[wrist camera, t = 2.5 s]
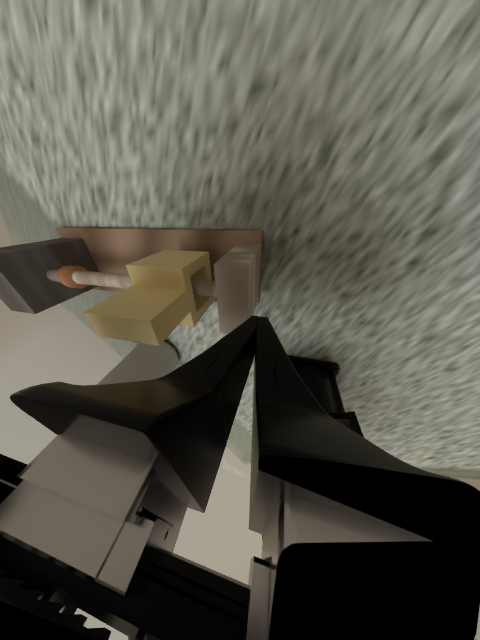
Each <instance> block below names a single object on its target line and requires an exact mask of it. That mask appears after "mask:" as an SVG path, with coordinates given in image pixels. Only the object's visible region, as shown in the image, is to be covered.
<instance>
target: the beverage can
mask: <svg viewBox="0 0 480 640" xmlns="http://www.w3.org/2000/svg"><path fill="white" fill-rule="evenodd" d="M177 363H178V356H177V353H176V351H175V349H174V348H173V347H172V346H171V345H170V344H169V343H167V342H165V341H163V343H162V344H161V345H160V346H157V345H151V344H145V343H140V344H139V345H138V346H137V347H136V348H134V349H133V350H132V351H131V352H130V353H129V354H128V355H127V356H126V357H125V358H124V359H123V360H122V361H121V362H120V363H119V364H118V365H117V366H116V367H115V368H114V369H113V370H112V371H111V372H109V373H108V374H107V375H106V376H105V377H104V378H103V379H102V380H101V381H100V382H99V383H98V384H97V385H104V384H114V383H124V382H134V381H145V380H153V379H157V378H160V377H163V376H165V375H167V374H169V373H170V372H172V371H173V369H174V368H175V366H176V365H177Z"/></svg>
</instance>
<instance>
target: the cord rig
mask: <svg viewBox="0 0 480 640" xmlns="http://www.w3.org/2000/svg"><path fill="white" fill-rule="evenodd" d="M56 229H57V231H58V233H59V235H60V236H61V238H59V239H53V240H46V241H40V242H33V243H27V244H21V245H14V246H8V247H1V248H0V299H1V300H2V301H3V302H4V303H5V304H6V305H7V306H8V307H9V308H10V309H11V310H12V311H19V312H26V313H33V314H36V313H39V312H41V311H43V310H46V309H48V308H50V307H52V306H55V305H57V304H59V303H61V302H64V301H66V300H68V299H71V298H73V297H75V296H77V295H80V294H82V293H84V292H86V291H89V290H91V289H97V290H107V291H117V292H122V291H124V290H126V289H128V288H129V287H131V286H133V283H132V280H131V278H130V275H129V273H128V270H127V268H126V265H127V264H129V263H132V262H135V261H137V260H140V259H142V258H145V257H148V256H150V255H153V254H155V253H158V252H161V251H163V250H180V251H204V252H209V259H210V267H211V276H212V281H208V280H195V279H191V285H192V290H193V295H199V296H210V297H214V301H215V302H217V304H218V314H219V323H220V332H224V333H230V332H231V331H233V330H234V329H235V328H237V327H238V326H239V325H240V324H242V323H243V322H244V321H246V320H247V319H248V318H250V317H251V316H253V313H254V310H255V307H256V306H258V304H259V291H260V274H261V257H262V240H263V230H232V229H166V228H100V227H59V228H56Z"/></svg>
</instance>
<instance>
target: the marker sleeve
mask: <svg viewBox="0 0 480 640" xmlns="http://www.w3.org/2000/svg"><path fill="white" fill-rule="evenodd" d="M126 268H127V270H128V273H129V275H130V278H131V280H132V283H133V286H131V287H129V288H128V289H126V290H124V291H122V292H120V293H118V294H116V295H115V296H113V297H111V298H109V299H107V300H105V301H103V302H101V303H100V304H98V305H96V306H94V307H92V308H90V309H88V310H87V311H85V312H83V313H84V314H85V316H86V317H87V319H88V320H89V322H90V324H91V325H92V327H93V328H94V330H95V331H96V333H97V335H98V336H103V337H109V338H115V339H121V340H127V341H133V342H139V343H145V344H151V345H157V346H160V345H161V344H162V343H163V341H164V340H165V339H166V338H167V337H168V336H169V335H170V334H171V332H172V331H173V330H174V329H175V328H176V327H177V326H178V325H182V326H190V327H194V326H195V325H196V323H197V322H198V321H199V320H200V318H201V317H202V316H203V314H204V313H205V312H206V310H207V309H208V308H209V306H210V305H211V304H212V302H213V301H214V297H210V296H199V295H193V290H192V285H191V279H195V280H208V281H212V276H211V267H210V259H209V252H204V251H180V250H163V251H161V252H158V253H155V254H153V255H150V256H148V257H145V258H142V259H140V260H137V261H135V262H132V263H129V264H127V265H126Z"/></svg>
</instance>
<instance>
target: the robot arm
mask: <svg viewBox="0 0 480 640" xmlns="http://www.w3.org/2000/svg"><path fill="white" fill-rule="evenodd" d="M254 355H255V364H254V394H253V424H252V454H251V484H250V486H251V487H250V513H249V514H250V516H249V529H250V530H252V531H255V532H258V533H260V534H262V539H263V545H262V559H260V558H257V557H255V556H254V557H252V558H251V563H250V573H249V583H248V585H247V584H244V583H242V582H240V581H237V580H235V579H233V578H230V577H228V576H226V575H223V574H221V573H218V572H216V571H214V570H211V569H209V568H207V567H205V566H202V565H200V564H197V563H195V562H193V561H191V560H188V559H186V558H183V557H181V556H178V555H177V554H174V553H173V550H174V547H175V544H176V541H177V537H178V534H179V531H180V527H181V525H182V522H183V519H184V515H185V513H186V510H187V507H189V508H191V509H194V510H197V511H200V512H202V513H204V512H205V509H206V506H207V503H208V500H209V496H210V494H211V490H212V487H213V484H214V481H215V478H216V475H217V471H218V469H219V465H220V462H221V459H222V456H223V453H224V450H225V447H226V444H227V440H228V437H229V434H230V431H231V428H232V425H233V422H234V418H235V415H236V412H237V409H238V406H239V403H240V400H241V396H242V393H243V390H244V387H245V384H246V381H247V378H248V375H249V371H250V368H251V365H252V362H253V359H254ZM334 367H335V368H334ZM339 369H340V368H339V365H338V364H336V363H329V362H323V361H316V360H310V359H303V358H297V357H290V356H287V354H286V352H285V350H284V348H283V346H282V344H281V342H280V340H279V338H278V336H277V335H276V333H275V331H274V329H273V327H272V325H271V323H270V321H269V319H268V318H267V317H259V316H251V317H250V318H248V319H247V320H246V321H244V322H243V323H242V324H240V325H239V326H238V327H237V328H235V329H234V330H233V331H231V332H230V333H229V334H227V335H226V336H225V337H223V338H222V339H221V340H219V341H218V342H217V343H215V344H214V345H213V346H211V347H210V348H209V349H207V350H206V351H204V352H203V353H201V354H200V355H198V356H197V357H195V358H194V359H192V360H190V361H189V362H187V363H185V364H184V365H182V366H180V367H179V368H177V369H175V370H174V371H172V372H170V373H169V374H167V375H165V376H163V377H160V378H157V379H153V380H145V381H134V382H124V383H114V384H104V385H87V386H82V385H72V384H68V383H63V382H53V383H46V384H40V385H36V386H32V387H29V388H26V389H23V390H20V391H18V392H16V393H14V394H12V395H11V396H10V399H11V401H12V402H13V403H14V404H15V405H16V406H18V407H19V408H20V409H21V410H23V411H24V412H26V413H27V414H28V415H30V416H32V417H33V418H34V419H36V420H37V421H38V422H40V423H41V424H43V425H44V426H46V427H47V428H48V429H50V430H51V431H53V432H54V433H55V434H57V436H56V437H55V438H54V439H53V440H52V441H51V442H50V443H49V444H48V445H47V446H46V447H45V448H44V450H42V451H41V452H40V453H39V455H37V456H36V457H35V458H34V460H32V461H31V462H30V463H29V464H28V465H27V464H24V463H22V462H19V461H17V460H14V459H11V458H9V457H7V456H4V455H2V454H0V640H108V639H109V636H110V633H111V631H109V630H108V629H106V628H90V629H88V628H86V627H84V624H85V622H86V620H87V617H85V616H83V615H82V614H77V615H75V614H74V613H75V611H76V610H77V608H79V609H81V610H83V611H85V612H87V613H88V614H90V615H92V616H93V617H95V618H97V619H99V620H100V621H102V622H104V623H106V624H107V625H109V626H111V627H113V628H115V629H116V630H118V631H120V632H122V633H124V634H125V635H127V636H128V640H474V638H475V635H476V631H477V622H478V614H479V606H480V491H478V490H477V489H476V488H474V487H473V486H471V485H469V484H467V483H465V482H463V481H460V480H457V479H454V478H450V477H446V476H442V475H438V474H434V473H431V472H427V471H424V470H421V469H419V468H416V467H414V466H412V465H409V464H407V463H405V462H403V461H401V460H399V459H397V458H396V457H394V456H392V455H391V454H389V453H387V452H386V451H384V450H382V449H381V448H379V447H378V446H376V445H374V444H373V443H371V442H370V441H368V440H366V439H365V438H364V437H363V434H362V431H361V428H360V426H359V423H358V420H357V417H356V415H355V412H354V411H348V412H345V410H344V407H343V403H342V399H341V396H340V392H339V389H338V385H337V381H336V378H335V377H336V375H337V373H338V371H339Z"/></svg>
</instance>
